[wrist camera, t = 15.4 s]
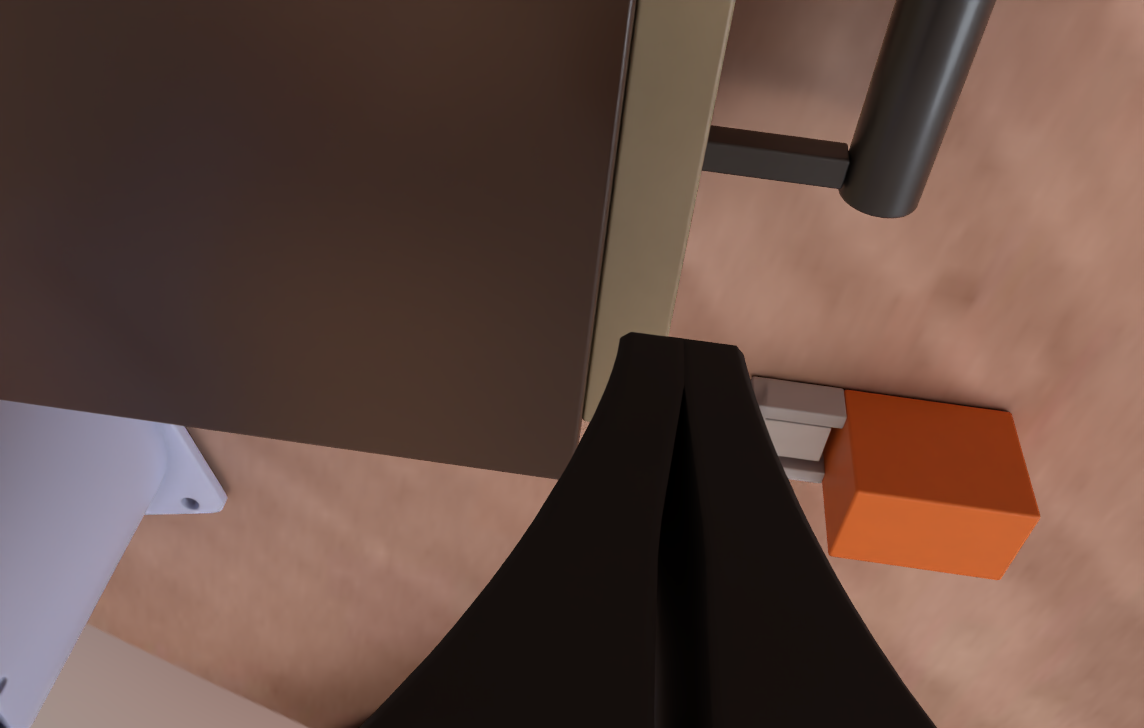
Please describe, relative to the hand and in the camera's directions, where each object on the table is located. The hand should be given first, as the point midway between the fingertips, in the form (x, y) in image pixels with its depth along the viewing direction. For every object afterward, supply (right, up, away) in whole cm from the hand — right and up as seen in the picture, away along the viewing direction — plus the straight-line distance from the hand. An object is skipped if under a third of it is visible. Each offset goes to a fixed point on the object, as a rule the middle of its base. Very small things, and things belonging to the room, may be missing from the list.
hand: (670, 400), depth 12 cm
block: (+6, -1, +13) cm, 14 cm away
